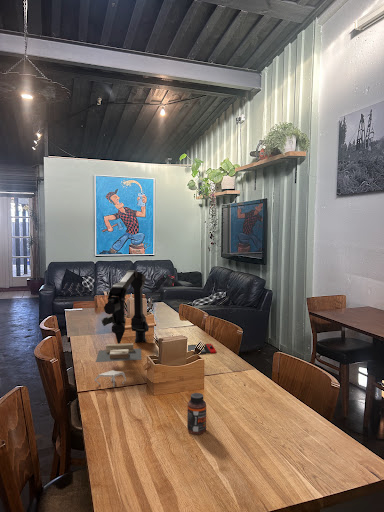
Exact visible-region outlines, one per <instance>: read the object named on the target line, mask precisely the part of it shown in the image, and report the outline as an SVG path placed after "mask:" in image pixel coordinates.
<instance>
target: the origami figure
mask: <svg viewBox="0 0 384 512" xmlns="http://www.w3.org/2000/svg"><path fill="white" fill-rule="evenodd" d="M121 375H122V377H123V379H124V380H123V381H122V382H121V384H122V385H125V382H127V377H126V374H125V372H124V371H117V370H114V369H112V370H108V371H106V372H102V373H99V374H98V375H97V376H96V377H95V379H94V381H95V382H96V383H97V384H98V386H100V385H101V383H100V382H99V381H98V379H100V377H105V378H106V377H107V378H108V377H110V381H111V382H112V387H113V388H115V387H116V386H115V383H116V377H118V376H121Z"/></svg>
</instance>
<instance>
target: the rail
mask: <svg viewBox="0 0 384 512" xmlns="http://www.w3.org/2000/svg"><path fill="white" fill-rule="evenodd" d="M122 349H128V352H132V351H133V349H134V343H133V342H131V343H120V344H118V343H107V344H105V350H106V353H110V350H122Z"/></svg>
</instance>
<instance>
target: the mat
mask: <svg viewBox="0 0 384 512" xmlns="http://www.w3.org/2000/svg"><path fill="white" fill-rule="evenodd" d="M141 360H142V348H133V351H132V352H128V358H111V359H110V353H106V349H105V350H104V349H102V350H98V352H97V357H96V359H95V363H105V362H123V361H126V362H127V361H141Z"/></svg>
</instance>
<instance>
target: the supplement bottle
mask: <svg viewBox="0 0 384 512" xmlns="http://www.w3.org/2000/svg"><path fill="white" fill-rule="evenodd" d="M186 413H187V414H186V415H187V419H186V420H187V422H186V424H187V425H186V427H187V431H188V433H190V434H193V435H202V434H203V433H205V432H206V430H207V402H206V401H205V400H204V394H203V393H200V392H194V393H191V394H190V400H189V401H188V402H187V412H186Z"/></svg>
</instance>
